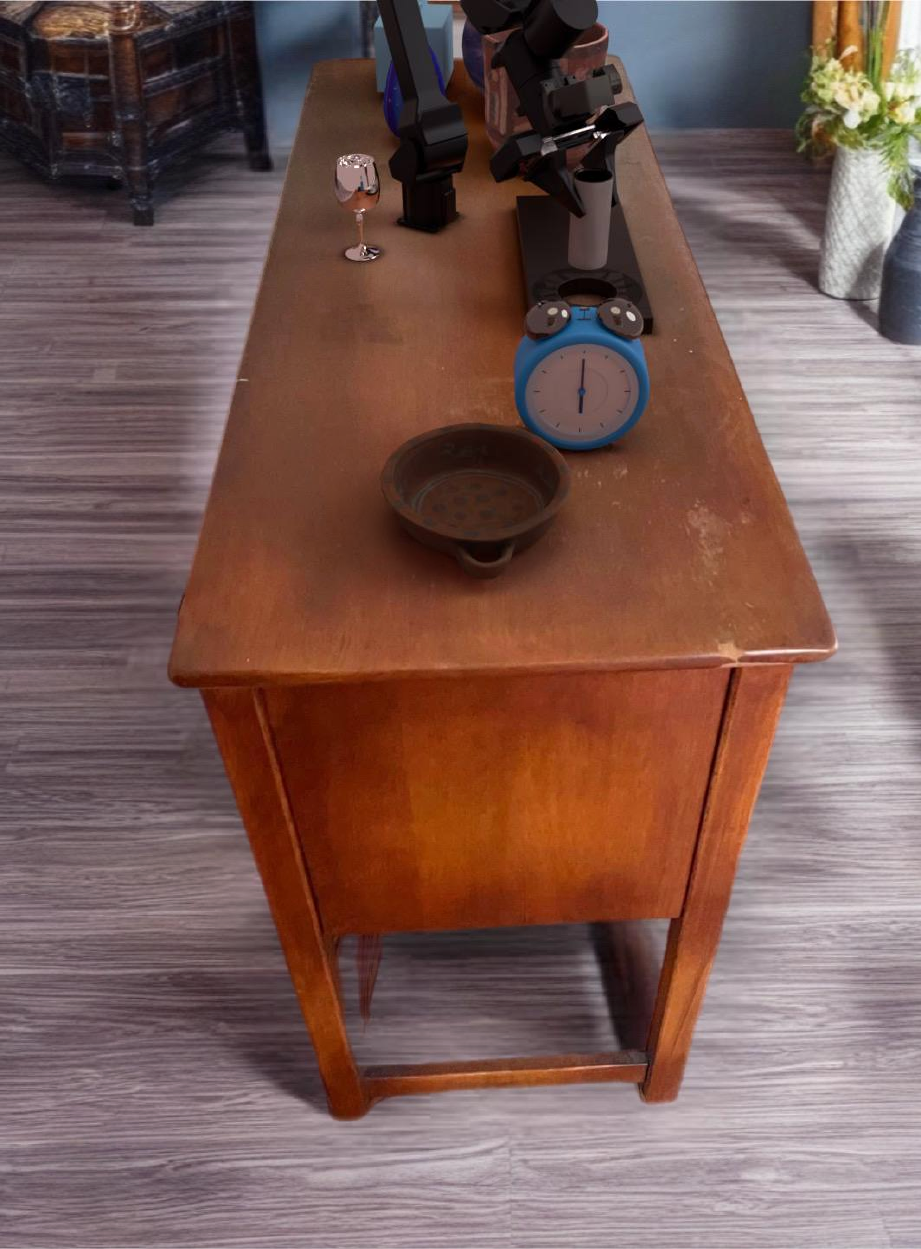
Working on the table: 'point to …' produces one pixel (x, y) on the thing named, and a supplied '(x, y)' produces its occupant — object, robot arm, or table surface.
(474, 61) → the decorative sphere
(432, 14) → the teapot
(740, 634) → the table surface
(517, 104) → the pottery
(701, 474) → the table surface
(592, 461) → the table surface
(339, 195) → the wineglass
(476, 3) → the robot arm
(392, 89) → the ornament
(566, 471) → the dish
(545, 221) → the plant stand
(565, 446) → the alarm clock
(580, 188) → the planter
